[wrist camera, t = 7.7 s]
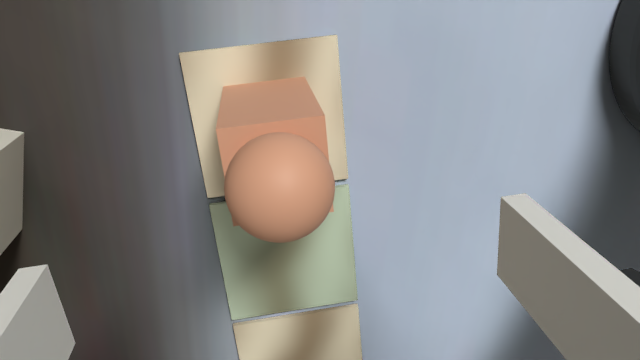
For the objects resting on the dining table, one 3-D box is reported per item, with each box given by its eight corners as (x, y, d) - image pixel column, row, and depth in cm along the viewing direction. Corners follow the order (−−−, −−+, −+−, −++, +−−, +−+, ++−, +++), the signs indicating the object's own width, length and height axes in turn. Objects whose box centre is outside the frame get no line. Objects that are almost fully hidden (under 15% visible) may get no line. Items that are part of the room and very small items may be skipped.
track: (336, 34, 28) (337, 35, 28) (370, 478, 42) (371, 481, 42) (179, 52, 28) (179, 53, 27) (267, 497, 42) (267, 501, 42)
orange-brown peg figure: (304, 76, 29) (340, 144, 18) (312, 152, 31) (349, 255, 20) (223, 86, 28) (210, 162, 18) (236, 162, 30) (231, 273, 19)
